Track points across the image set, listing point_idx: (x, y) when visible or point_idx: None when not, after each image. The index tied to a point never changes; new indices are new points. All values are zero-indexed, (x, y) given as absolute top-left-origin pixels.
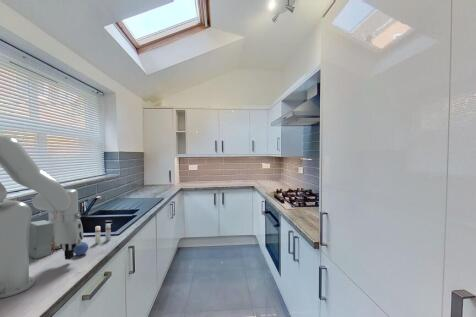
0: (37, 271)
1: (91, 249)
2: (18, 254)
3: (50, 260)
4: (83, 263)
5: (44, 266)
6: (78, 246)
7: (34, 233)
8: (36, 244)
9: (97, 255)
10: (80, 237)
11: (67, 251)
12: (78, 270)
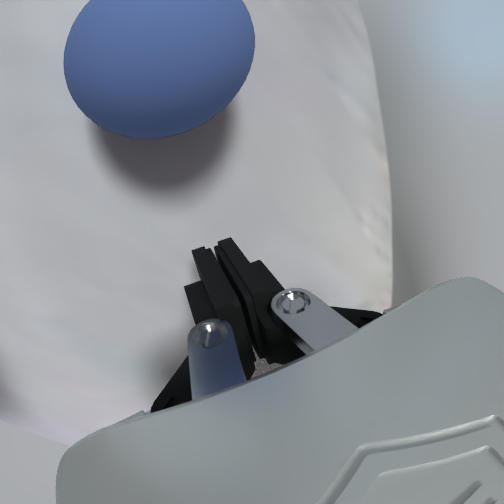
0: (125, 393)
1: None
2: None
3: (6, 270)
4: (322, 221)
5: (83, 349)
6: (190, 108)
7: None
8: None
9: (327, 63)
10: (467, 302)
11: (268, 358)
12: (348, 299)
